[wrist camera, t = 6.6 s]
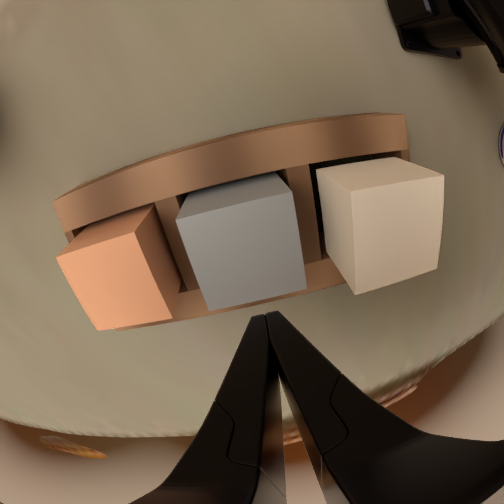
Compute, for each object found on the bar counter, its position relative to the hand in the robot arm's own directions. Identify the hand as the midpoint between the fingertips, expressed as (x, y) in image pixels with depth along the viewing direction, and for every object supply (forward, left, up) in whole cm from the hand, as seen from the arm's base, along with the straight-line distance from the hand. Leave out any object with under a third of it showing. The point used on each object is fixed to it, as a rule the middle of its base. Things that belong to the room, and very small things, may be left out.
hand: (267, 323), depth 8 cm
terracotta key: (+7, 0, -9) cm, 12 cm away
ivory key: (-7, 0, -8) cm, 10 cm away
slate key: (0, 0, -9) cm, 9 cm away
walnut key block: (0, 0, -11) cm, 11 cm away
